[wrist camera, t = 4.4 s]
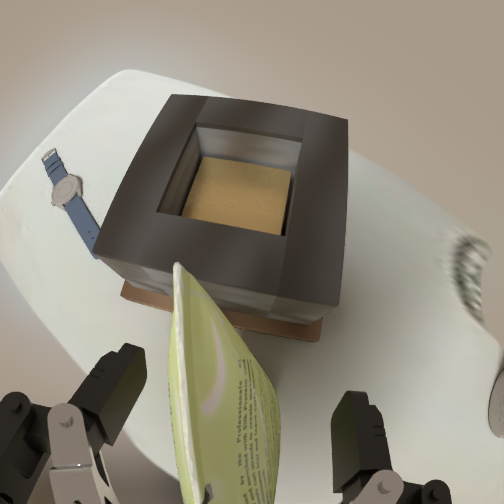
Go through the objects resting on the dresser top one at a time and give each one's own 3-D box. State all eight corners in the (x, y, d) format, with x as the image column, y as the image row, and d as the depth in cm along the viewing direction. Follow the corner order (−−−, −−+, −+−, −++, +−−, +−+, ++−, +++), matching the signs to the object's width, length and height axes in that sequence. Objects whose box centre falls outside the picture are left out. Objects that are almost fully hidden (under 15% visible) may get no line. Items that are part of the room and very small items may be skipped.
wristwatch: (59, 144, 31) (56, 140, 30) (121, 243, 25) (117, 238, 24) (36, 164, 29) (32, 160, 28) (88, 271, 24) (83, 268, 23)
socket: (333, 179, 28) (359, 115, 20) (314, 342, 22) (354, 327, 14) (181, 153, 29) (165, 87, 21) (126, 299, 23) (73, 263, 15)
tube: (189, 389, 21) (-6, 446, 2) (233, 346, 22) (177, 252, 4) (241, 437, 19) (232, 634, 1) (286, 393, 21) (450, 482, 2)
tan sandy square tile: (289, 178, 23) (291, 171, 22) (275, 260, 20) (276, 254, 19) (204, 164, 23) (203, 156, 22) (177, 240, 20) (174, 234, 19)
